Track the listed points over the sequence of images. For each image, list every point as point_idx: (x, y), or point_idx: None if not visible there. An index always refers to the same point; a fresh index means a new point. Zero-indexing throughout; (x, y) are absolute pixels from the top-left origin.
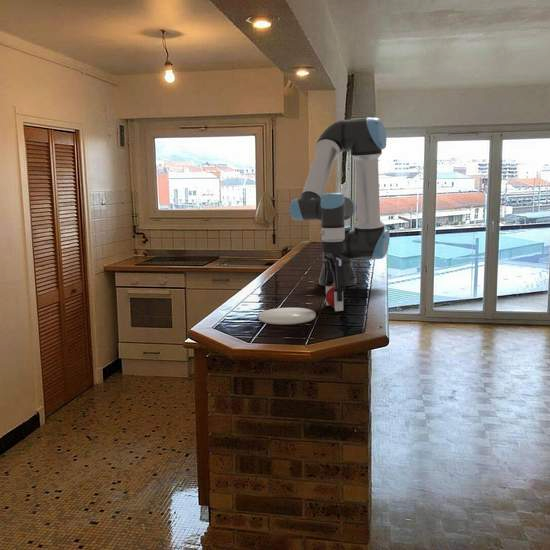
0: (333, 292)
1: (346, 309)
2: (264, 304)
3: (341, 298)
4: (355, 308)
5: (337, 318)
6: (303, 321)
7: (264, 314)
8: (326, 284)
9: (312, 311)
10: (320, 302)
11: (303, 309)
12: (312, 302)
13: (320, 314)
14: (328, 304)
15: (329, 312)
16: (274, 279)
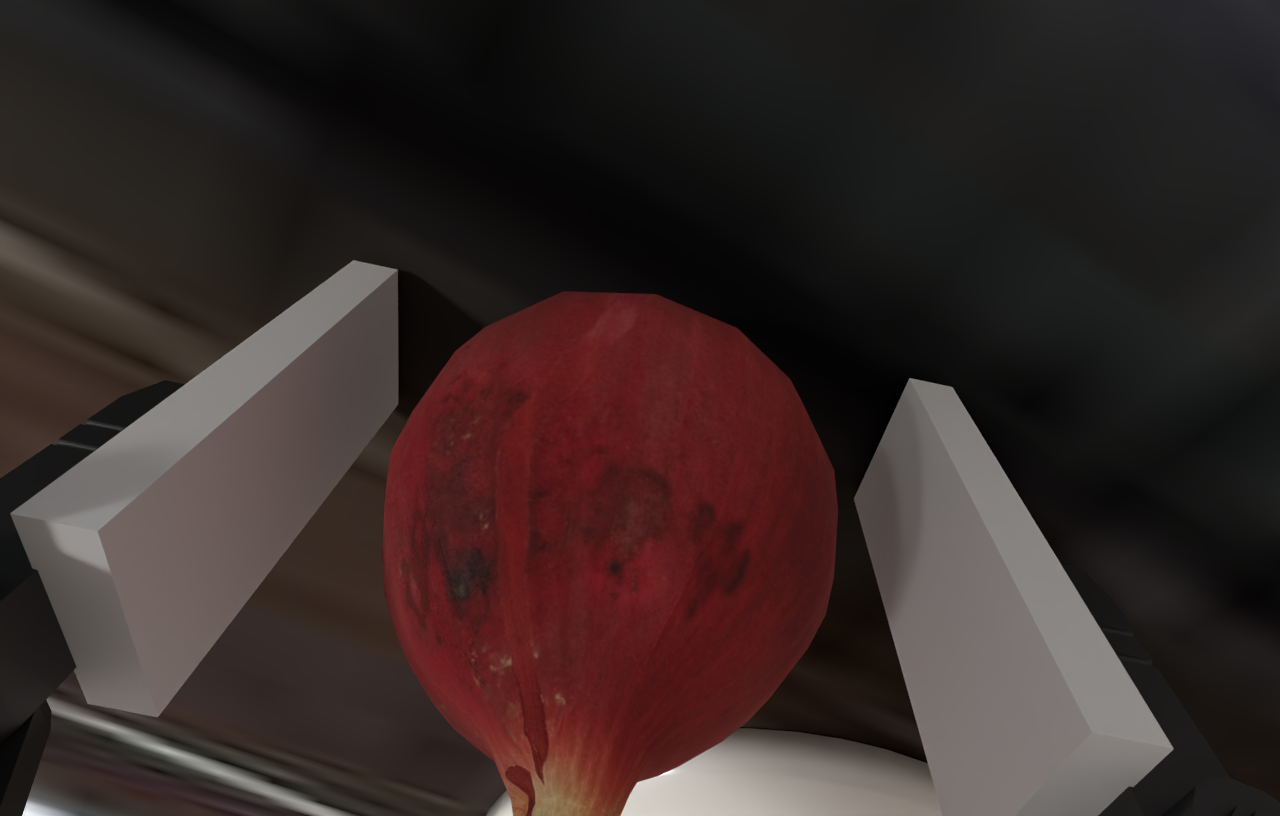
0: (740, 725)
1: (857, 251)
2: (85, 811)
3: (1118, 644)
4: (920, 14)
5: (1243, 653)
6: None
7: None
8: (38, 748)
9: (838, 798)
10: (60, 339)
11: (665, 808)
12: (42, 437)
13: (862, 685)
14: (391, 385)
15: (845, 567)
16: None
